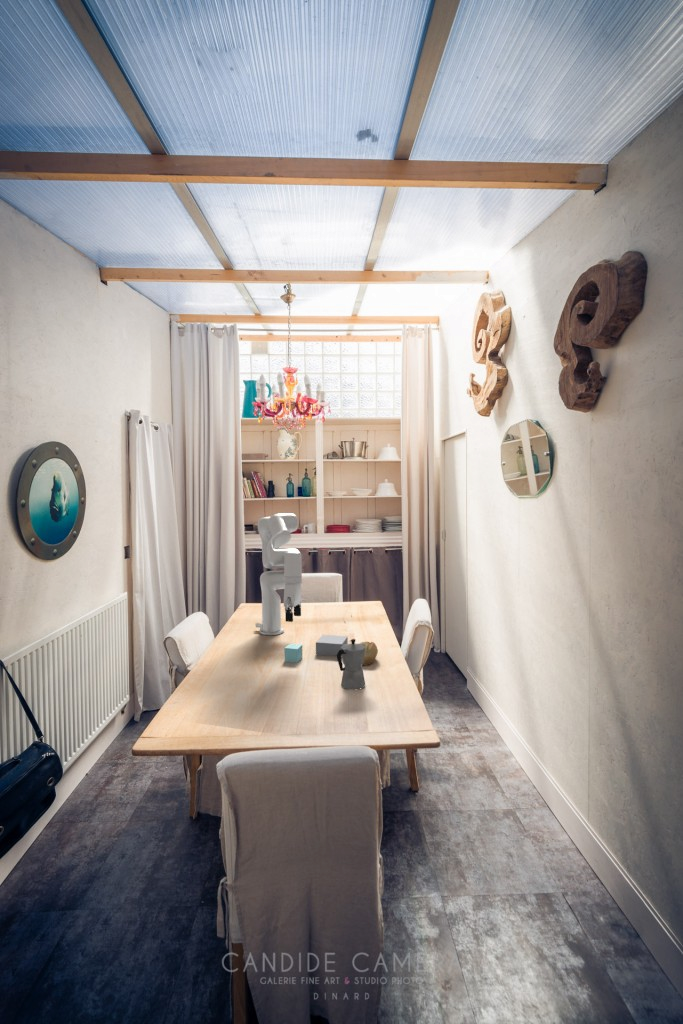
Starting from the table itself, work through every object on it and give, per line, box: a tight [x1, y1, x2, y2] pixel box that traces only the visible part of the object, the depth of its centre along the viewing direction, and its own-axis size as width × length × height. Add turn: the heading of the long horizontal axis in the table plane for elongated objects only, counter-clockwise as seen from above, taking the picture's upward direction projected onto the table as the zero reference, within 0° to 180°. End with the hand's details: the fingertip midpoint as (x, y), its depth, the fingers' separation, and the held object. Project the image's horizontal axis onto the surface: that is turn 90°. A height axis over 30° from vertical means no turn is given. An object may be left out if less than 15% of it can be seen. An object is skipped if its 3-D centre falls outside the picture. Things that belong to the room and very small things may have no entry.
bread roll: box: [360, 641, 379, 666], centre depth 232 cm, size 10×15×8 cm, turn 176°
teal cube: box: [284, 643, 303, 663], centre depth 233 cm, size 6×6×6 cm
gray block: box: [315, 634, 349, 657], centre depth 243 cm, size 12×12×6 cm
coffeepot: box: [336, 638, 366, 691], centre depth 202 cm, size 15×9×18 cm, turn 137°
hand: (293, 618), depth 231 cm, fingers open, 9 cm apart
